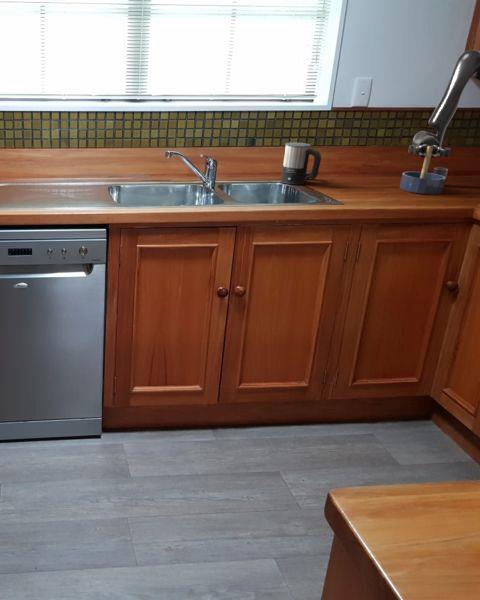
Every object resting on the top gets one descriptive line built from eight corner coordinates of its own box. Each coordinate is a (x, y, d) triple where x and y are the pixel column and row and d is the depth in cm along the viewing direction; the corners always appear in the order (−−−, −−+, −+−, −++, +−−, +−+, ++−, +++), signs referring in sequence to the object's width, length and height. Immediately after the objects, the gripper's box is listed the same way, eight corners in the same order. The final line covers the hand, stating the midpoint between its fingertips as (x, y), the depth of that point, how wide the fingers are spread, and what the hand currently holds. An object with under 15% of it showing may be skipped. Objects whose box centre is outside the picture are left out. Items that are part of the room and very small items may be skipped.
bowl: (440, 190, 231) (444, 174, 229) (442, 197, 219) (446, 180, 217) (399, 185, 237) (402, 170, 234) (398, 192, 225) (402, 176, 223)
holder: (443, 186, 237) (447, 168, 235) (443, 188, 233) (448, 170, 231) (429, 184, 239) (434, 167, 236) (430, 187, 235) (434, 169, 233)
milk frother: (279, 183, 235) (285, 144, 229) (280, 176, 249) (285, 139, 243) (317, 187, 231) (325, 147, 225) (316, 179, 245) (323, 141, 239)
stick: (422, 189, 228) (433, 146, 222) (422, 190, 227) (433, 146, 221) (417, 188, 229) (427, 145, 223) (417, 189, 228) (427, 146, 221)
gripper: (409, 135, 236) (410, 141, 222) (452, 139, 230) (454, 144, 216) (405, 155, 239) (405, 161, 225) (446, 159, 233) (449, 165, 219)
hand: (429, 153), depth 221 cm, fingers open, 7 cm apart
